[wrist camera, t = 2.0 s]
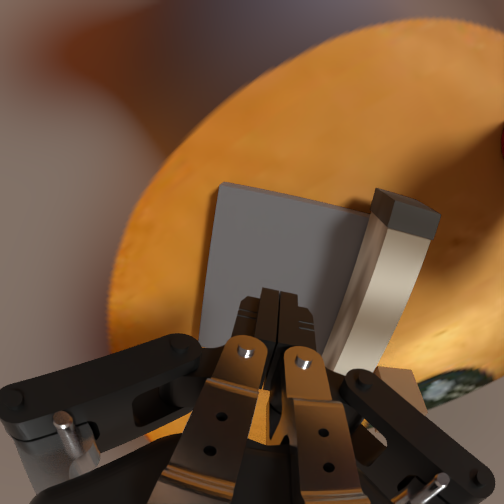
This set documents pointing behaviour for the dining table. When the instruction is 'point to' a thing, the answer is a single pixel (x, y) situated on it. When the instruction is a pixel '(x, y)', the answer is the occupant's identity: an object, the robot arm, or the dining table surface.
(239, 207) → the grey slab beige block
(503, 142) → the plastic cup
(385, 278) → the folding leg
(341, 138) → the dining table surface
